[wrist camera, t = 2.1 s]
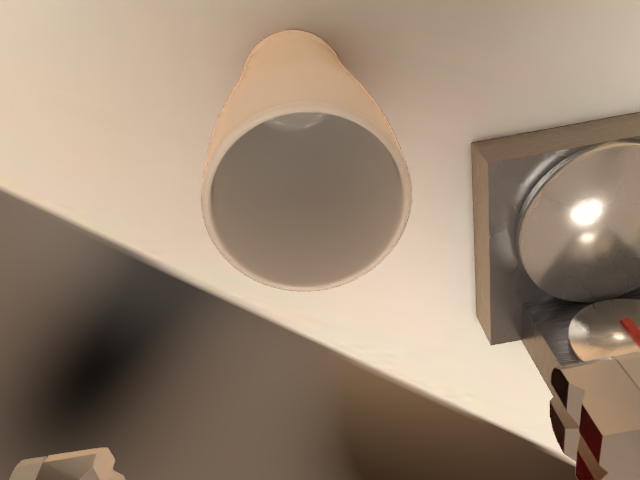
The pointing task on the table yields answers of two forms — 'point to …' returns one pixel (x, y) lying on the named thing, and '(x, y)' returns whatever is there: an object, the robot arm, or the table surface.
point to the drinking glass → (303, 170)
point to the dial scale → (560, 240)
